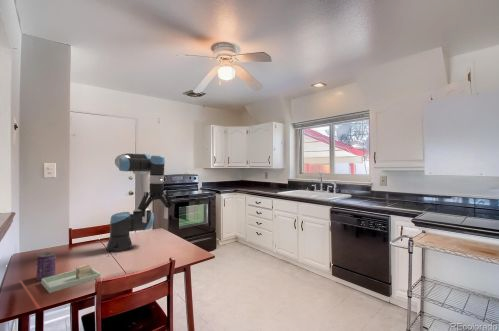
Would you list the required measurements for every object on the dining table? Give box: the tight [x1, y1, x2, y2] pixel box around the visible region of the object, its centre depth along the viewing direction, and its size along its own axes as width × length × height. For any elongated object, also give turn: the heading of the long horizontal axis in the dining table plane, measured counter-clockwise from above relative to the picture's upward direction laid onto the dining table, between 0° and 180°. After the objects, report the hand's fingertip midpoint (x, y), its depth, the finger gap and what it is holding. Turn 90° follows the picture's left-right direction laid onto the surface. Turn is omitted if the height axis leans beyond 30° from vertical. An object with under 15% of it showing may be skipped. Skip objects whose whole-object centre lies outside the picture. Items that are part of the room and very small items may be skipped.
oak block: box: [75, 263, 93, 279], centre depth 125 cm, size 5×5×5 cm
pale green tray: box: [40, 267, 101, 294], centre depth 121 cm, size 13×20×3 cm, turn 141°
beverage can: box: [36, 251, 57, 282], centre depth 123 cm, size 7×7×12 cm
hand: (155, 220), depth 144 cm, fingers open, 13 cm apart
